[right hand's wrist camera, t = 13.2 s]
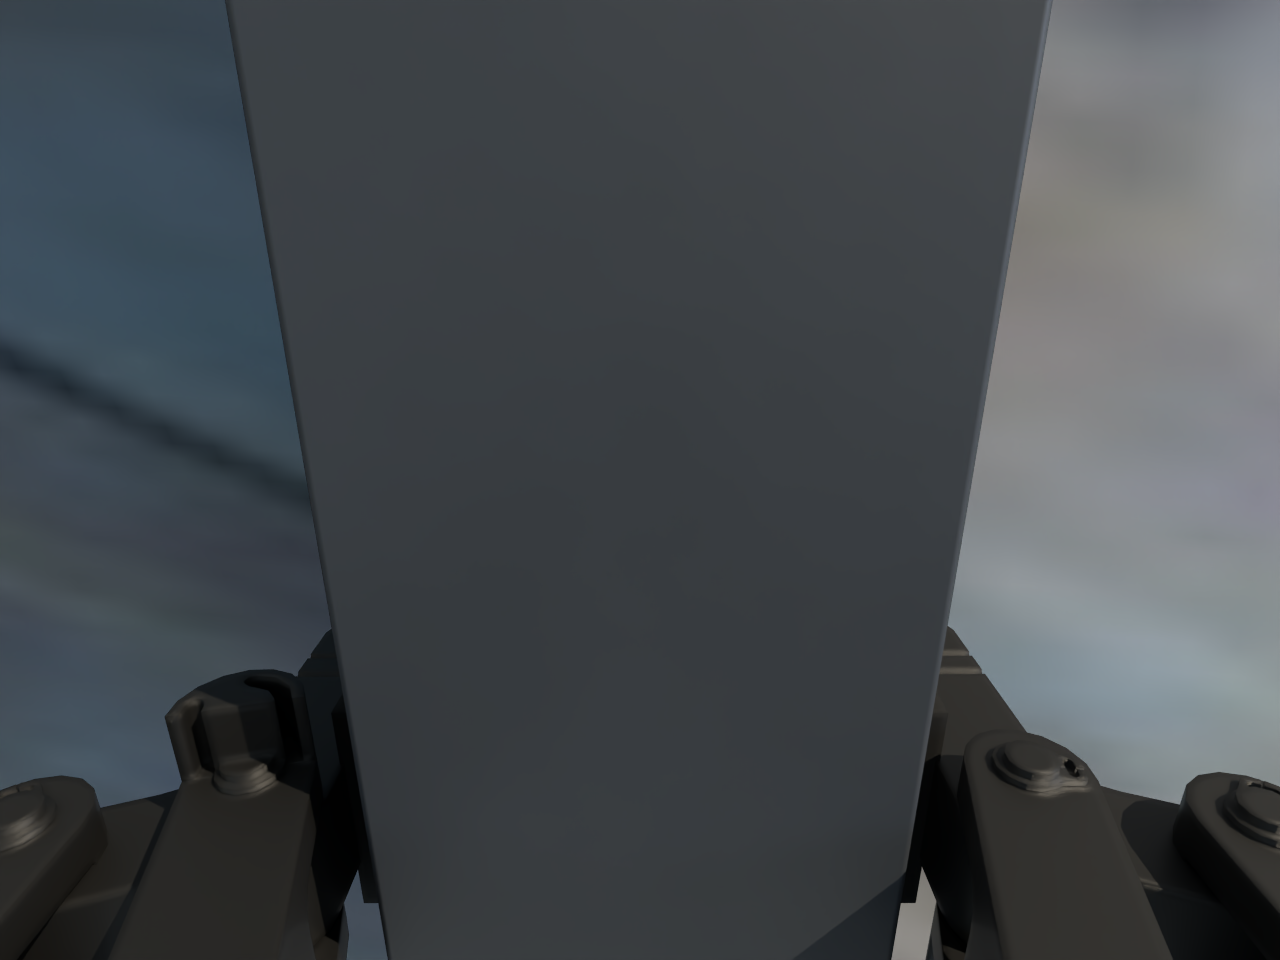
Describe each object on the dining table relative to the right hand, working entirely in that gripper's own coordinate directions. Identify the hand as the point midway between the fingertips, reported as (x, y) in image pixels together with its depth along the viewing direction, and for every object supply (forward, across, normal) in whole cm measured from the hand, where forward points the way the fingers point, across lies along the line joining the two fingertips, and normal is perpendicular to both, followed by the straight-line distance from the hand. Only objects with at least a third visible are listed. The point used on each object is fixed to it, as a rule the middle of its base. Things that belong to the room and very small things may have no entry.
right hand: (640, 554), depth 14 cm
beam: (0, 0, -12) cm, 12 cm away
